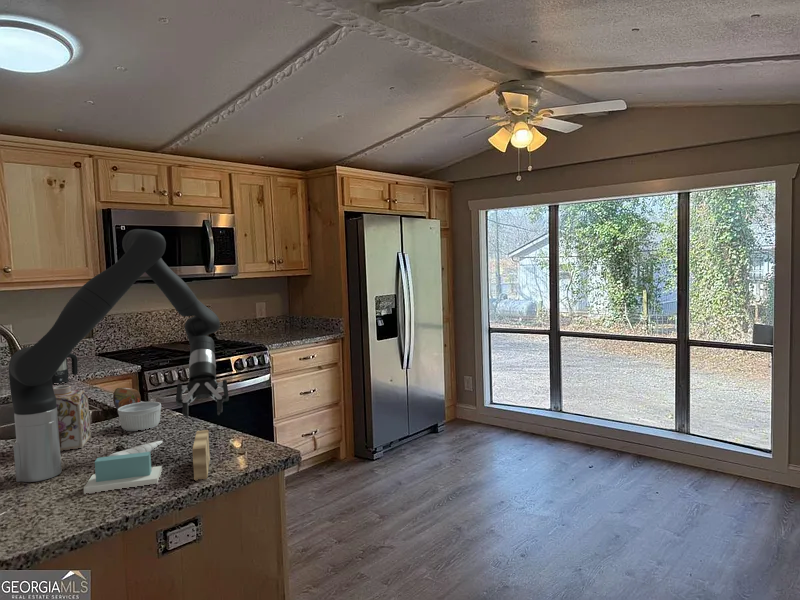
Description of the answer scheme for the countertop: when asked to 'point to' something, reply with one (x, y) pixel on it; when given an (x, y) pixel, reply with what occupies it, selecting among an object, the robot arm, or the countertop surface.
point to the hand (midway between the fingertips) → (202, 414)
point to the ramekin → (139, 415)
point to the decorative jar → (72, 417)
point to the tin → (125, 397)
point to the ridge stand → (122, 472)
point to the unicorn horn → (138, 449)
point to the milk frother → (65, 370)
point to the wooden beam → (201, 455)
